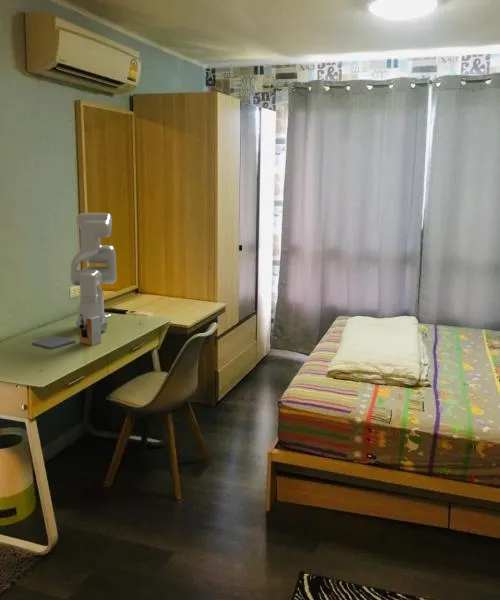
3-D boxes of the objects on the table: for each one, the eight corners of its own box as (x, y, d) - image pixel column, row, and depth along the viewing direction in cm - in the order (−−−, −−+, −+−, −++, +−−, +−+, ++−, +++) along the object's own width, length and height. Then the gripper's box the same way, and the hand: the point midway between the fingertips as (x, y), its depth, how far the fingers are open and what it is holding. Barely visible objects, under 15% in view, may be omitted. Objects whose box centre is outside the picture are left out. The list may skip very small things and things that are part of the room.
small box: (79, 343, 284) (78, 316, 282) (89, 340, 290) (88, 314, 287) (92, 345, 281) (91, 318, 278) (101, 342, 286) (100, 316, 283)
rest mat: (56, 337, 293) (56, 335, 292) (75, 342, 285) (75, 340, 285) (32, 344, 281) (32, 342, 281) (51, 349, 274) (51, 347, 273)
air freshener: (99, 335, 299) (99, 315, 297) (84, 333, 301) (83, 314, 299) (109, 329, 310) (108, 311, 308) (94, 328, 311) (93, 310, 309)
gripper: (97, 295, 290) (98, 330, 294) (68, 301, 276) (70, 338, 279) (108, 297, 286) (109, 332, 290) (79, 303, 272) (81, 340, 275)
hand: (90, 335), depth 284 cm, fingers open, 6 cm apart
